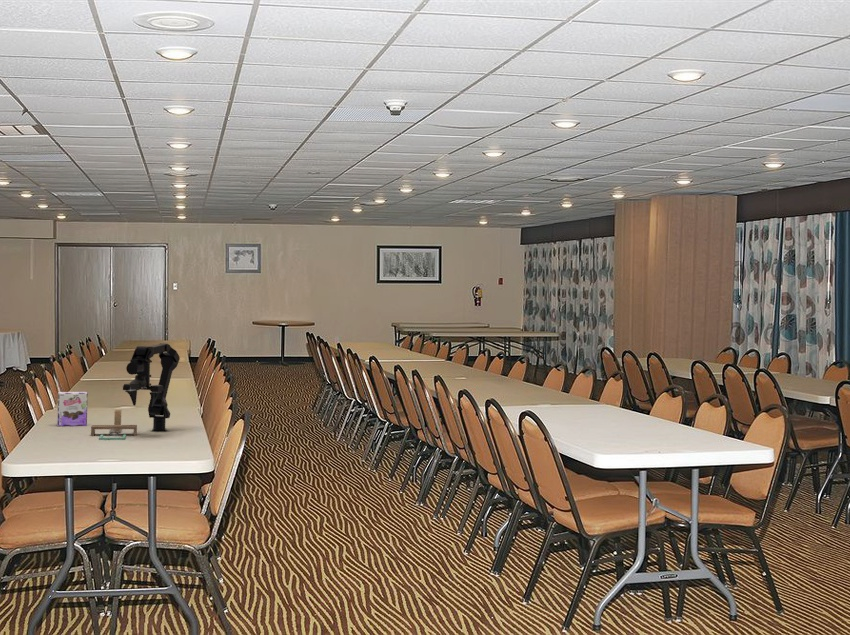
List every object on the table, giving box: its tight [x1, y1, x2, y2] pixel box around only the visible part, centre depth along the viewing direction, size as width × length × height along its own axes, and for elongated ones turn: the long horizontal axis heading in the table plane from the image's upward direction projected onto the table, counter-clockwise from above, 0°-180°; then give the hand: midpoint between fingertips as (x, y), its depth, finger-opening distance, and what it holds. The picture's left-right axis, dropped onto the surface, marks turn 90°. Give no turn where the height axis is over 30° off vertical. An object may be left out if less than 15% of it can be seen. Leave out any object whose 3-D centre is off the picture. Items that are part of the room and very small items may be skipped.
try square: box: [108, 409, 123, 434], centre depth 478 cm, size 22×5×9 cm, turn 13°
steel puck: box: [109, 431, 120, 436], centre depth 462 cm, size 4×4×2 cm
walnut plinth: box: [90, 424, 138, 437], centre depth 462 cm, size 6×20×4 cm, turn 104°
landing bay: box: [98, 434, 127, 441], centre depth 452 cm, size 11×11×1 cm
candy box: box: [56, 391, 89, 427], centre depth 490 cm, size 14×6×16 cm, turn 112°
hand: (143, 406), depth 465 cm, fingers open, 9 cm apart
